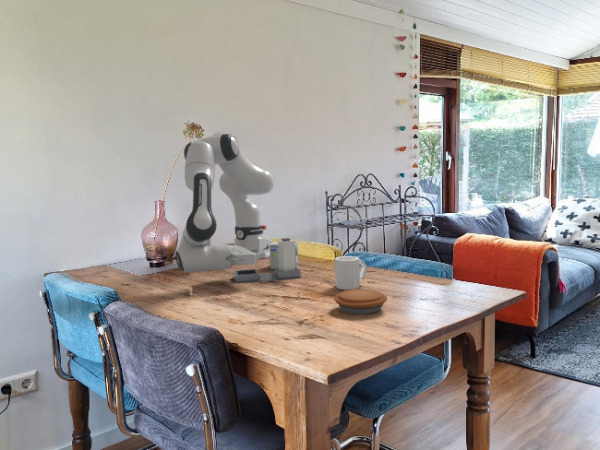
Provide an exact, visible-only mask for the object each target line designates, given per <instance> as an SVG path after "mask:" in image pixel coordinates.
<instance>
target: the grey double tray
mask: <svg viewBox="0 0 600 450" xmlns="http://www.w3.org/2000/svg"><path fill="white" fill-rule="evenodd" d="M273 271H274V272H271V273H260V272H259V271H258V270H257V269H256V268H253V269H243V270H242V269H241V270H234V272H233V273H234V276H233V275H232V278H233V280H234V282H235V283H236V285H237V284H247V283H248V284H250V283H260V282H261V283H262V282H274V281H282V280H283V281H285V280H287V281H288V280H297V279H303V276H301V270H300V269H299V267H298V268H297V267H296V266H295V270H292V271H279V267H277V268H274V269H273Z"/></svg>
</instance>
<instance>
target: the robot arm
mask: <svg viewBox="0 0 600 450" xmlns="http://www.w3.org/2000/svg"><path fill="white" fill-rule="evenodd" d="M183 156H184V160H185V163H184V181H185V182H184V183H185V186H186V188H187V189H189V190H190V191H192V210H191V213H189V215H188V217H187V219H186V224H185V226H184V229H183V232H182V236H181V240H180V243H179V246H178V247H177V249H176V251H175V262H176V264H177V267H178V268H179V270H180V271H182V272H184V273H200V272H206V271H208V270H212V271H218V270H219V271H220V270H226V269H227V270H228V269H230V268H231V266H232V265H236V266H240V265H241V266H243V265H245V266H246V265H253V264H254V265H255V264H256V263H257V260H259V259H268V258H270V244H271V243H272V242H273V240H272V239H271V238H270V237H269V236H268V235H266V234H265V233H264V231H266V230H267V228H268V227H267V225H266V224H264V225H263V224H261V210H260V207H259V206H258V204H256V203H254V202H252V200H251V199H250V196H260V195H266V194H269V193H270V192H271V191H272V190H273V187H274V184H275V181H274V177H273V175H272V174H271V172H270V171H267V170H264V169H262V168H260V167H258V166H257V165H255V164H254V163H252V162H251V161H250V160H249V159H247V157H246V156H245V155H244V154H243V152H242V151H241V149H240V146H239V142H238V140H237V138H236V137H235V136H234V135H232V134H230V133H225V132H222V131H221V132H216V133H213V134H212V135H211V136H207V137H204V138H200V139H197V140H191V141H190V142H189V143H187V144H186V145H185V146H184V150H183ZM216 165H218V166H219V168H220V169H221V171H222V172H223V173H221V175H220V177H219V181H218V185H219V188H220V190H221V191H222V193H224V194H225V195H226V196H227V197H228V198H229V200H230V202H231V205H232V206H233V209H234V218H235V227H234V235H235V238H234V245H228V243H220V244H211V239H212V237H213V236H214V235H215V233H216V230H217V228H218V227H217V220H216V218H215V215H214V213H213V210H212V189H213V186H214V182H215V175H216Z"/></svg>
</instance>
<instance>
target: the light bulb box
mask: <svg viewBox="0 0 600 450" xmlns="http://www.w3.org/2000/svg"><path fill="white" fill-rule="evenodd" d="M294 251H295V266H296V267H297V268H298V269H299V253H298V251H299V249H298V241H294ZM269 259H270V260H269V264H270V265H269V266H270V267H269V269H270V270H272V269H273V270H274V268H277V267H279V259H278V241H277V242H275V241H274V242H272V243H271V244H270V257H269Z"/></svg>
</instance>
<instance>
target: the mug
mask: <svg viewBox="0 0 600 450" xmlns="http://www.w3.org/2000/svg"><path fill="white" fill-rule="evenodd" d="M360 265H361V269H360ZM334 270H335V273H334V274H335V275H334V278H335V282H334V283H335V285H334V286H335V287H336V288H337V289H340V290H343V291H348V290H356V289H359V288H360V287H361V279H362V280H364V279H366V274H367V270H368V265H367V264H366V262H364V260H362V259H360V258H359V257H358V256H351V255H349V256H348V255H346V256H345V255H343V256H338V257H334Z"/></svg>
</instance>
